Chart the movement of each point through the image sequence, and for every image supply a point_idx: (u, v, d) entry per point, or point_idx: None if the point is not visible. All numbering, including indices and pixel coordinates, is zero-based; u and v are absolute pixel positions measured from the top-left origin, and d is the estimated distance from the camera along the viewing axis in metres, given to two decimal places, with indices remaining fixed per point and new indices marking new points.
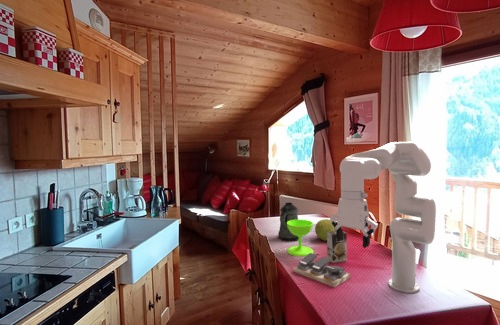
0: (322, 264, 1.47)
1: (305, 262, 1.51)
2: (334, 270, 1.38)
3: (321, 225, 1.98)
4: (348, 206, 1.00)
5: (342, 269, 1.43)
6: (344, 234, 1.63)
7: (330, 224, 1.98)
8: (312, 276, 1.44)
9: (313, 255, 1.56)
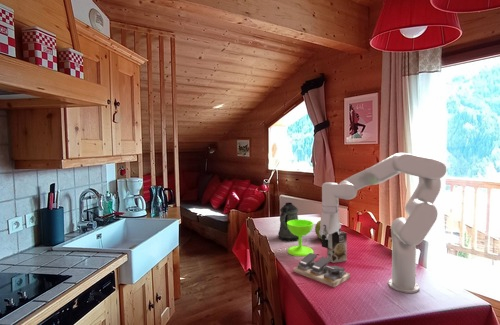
0: (322, 264, 1.47)
1: (305, 262, 1.51)
2: (334, 270, 1.38)
3: None
4: (335, 217, 1.36)
5: (342, 269, 1.43)
6: (344, 234, 1.63)
7: None
8: (312, 276, 1.44)
9: (313, 255, 1.56)
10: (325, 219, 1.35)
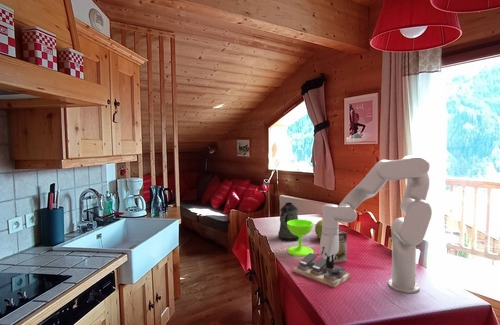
0: (322, 264, 1.47)
1: (305, 262, 1.51)
2: (334, 270, 1.38)
3: (321, 225, 1.98)
4: (334, 239, 1.37)
5: (342, 269, 1.43)
6: (344, 234, 1.63)
7: None
8: (312, 276, 1.44)
9: (313, 255, 1.56)
10: (325, 241, 1.35)
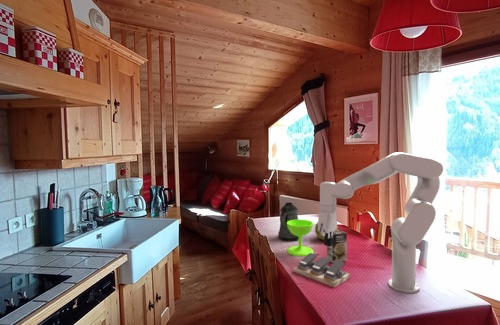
0: (322, 264, 1.47)
1: (305, 262, 1.51)
2: (334, 275, 1.38)
3: None
4: (332, 215, 1.38)
5: (342, 265, 1.42)
6: (344, 234, 1.63)
7: None
8: (312, 276, 1.44)
9: (313, 255, 1.56)
10: (323, 218, 1.36)
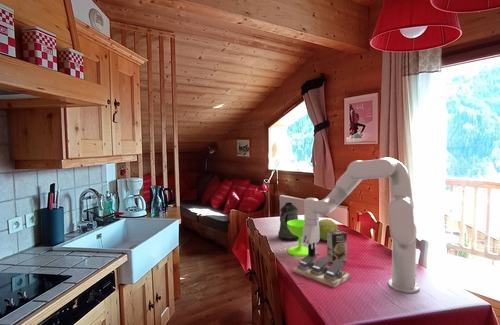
0: (322, 264, 1.47)
1: (305, 262, 1.51)
2: (334, 275, 1.38)
3: (321, 225, 1.98)
4: (315, 228, 1.54)
5: (342, 265, 1.42)
6: (344, 234, 1.63)
7: (330, 224, 1.98)
8: (312, 276, 1.44)
9: None
10: (306, 231, 1.52)
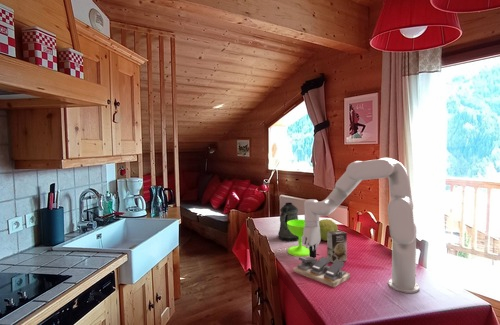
0: (322, 264, 1.47)
1: (305, 258, 1.51)
2: (334, 275, 1.38)
3: (321, 225, 1.98)
4: (315, 230, 1.53)
5: (342, 265, 1.42)
6: (344, 234, 1.63)
7: (330, 224, 1.98)
8: (312, 276, 1.44)
9: (313, 258, 1.56)
10: (307, 232, 1.52)
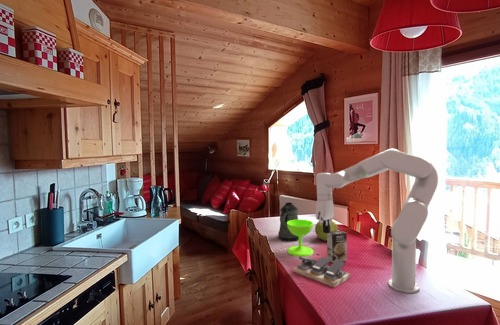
0: (322, 264, 1.47)
1: (306, 258, 1.51)
2: (334, 275, 1.38)
3: (321, 225, 1.98)
4: (329, 204, 1.47)
5: (342, 265, 1.42)
6: (344, 234, 1.63)
7: (330, 224, 1.98)
8: (312, 276, 1.44)
9: (313, 259, 1.56)
10: (320, 206, 1.46)
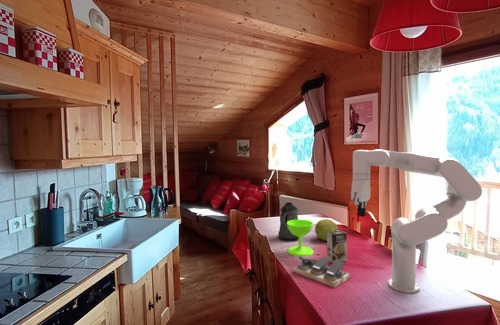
0: (322, 264, 1.47)
1: (306, 258, 1.51)
2: (334, 275, 1.38)
3: (321, 225, 1.98)
4: (366, 184, 1.34)
5: (342, 265, 1.42)
6: (344, 234, 1.63)
7: (330, 224, 1.98)
8: (312, 276, 1.44)
9: (313, 259, 1.56)
10: (357, 186, 1.32)
